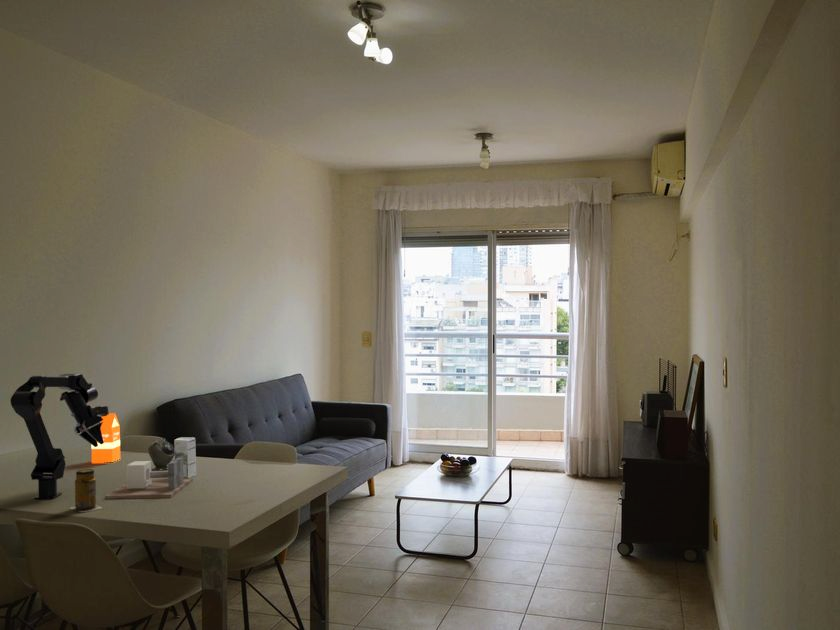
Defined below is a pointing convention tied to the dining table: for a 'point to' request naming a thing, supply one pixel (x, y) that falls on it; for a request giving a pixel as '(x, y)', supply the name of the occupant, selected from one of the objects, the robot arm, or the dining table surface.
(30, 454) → the dining table surface
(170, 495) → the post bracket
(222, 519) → the dining table surface
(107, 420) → the orange juice
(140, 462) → the white box with window
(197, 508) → the dining table surface
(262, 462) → the dining table surface
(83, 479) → the condiment
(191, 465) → the syrup box
